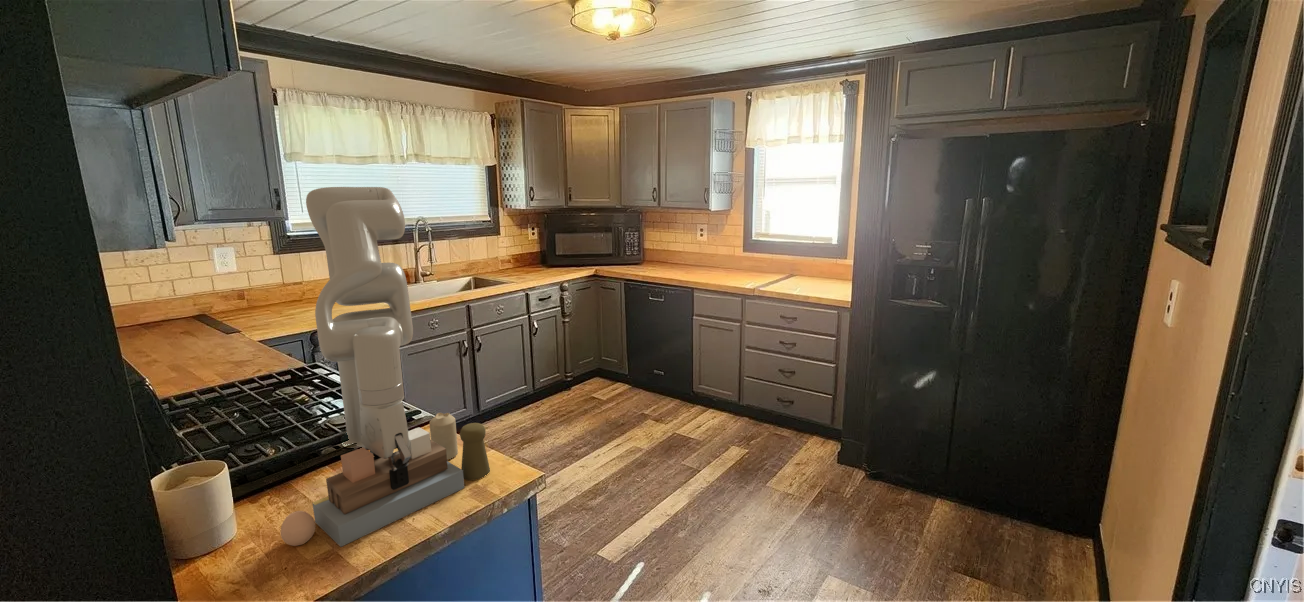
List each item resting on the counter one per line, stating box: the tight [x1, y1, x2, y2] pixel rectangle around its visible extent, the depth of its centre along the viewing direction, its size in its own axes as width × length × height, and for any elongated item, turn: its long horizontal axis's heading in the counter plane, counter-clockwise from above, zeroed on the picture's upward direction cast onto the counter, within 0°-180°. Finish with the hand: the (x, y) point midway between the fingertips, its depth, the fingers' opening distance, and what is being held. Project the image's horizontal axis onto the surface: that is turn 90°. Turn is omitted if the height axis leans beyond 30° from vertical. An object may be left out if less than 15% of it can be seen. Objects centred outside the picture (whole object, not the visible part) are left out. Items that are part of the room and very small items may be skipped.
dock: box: [312, 460, 465, 548], centre depth 107 cm, size 11×24×4 cm, turn 141°
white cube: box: [408, 427, 431, 459], centre depth 109 cm, size 4×4×4 cm
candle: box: [429, 412, 459, 461], centre depth 125 cm, size 6×6×10 cm
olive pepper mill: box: [459, 422, 491, 481], centre depth 118 cm, size 6×6×11 cm
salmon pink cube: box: [340, 447, 375, 483], centre depth 101 cm, size 4×4×4 cm
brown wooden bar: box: [325, 439, 448, 514], centre depth 106 cm, size 6×20×4 cm, turn 141°
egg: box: [280, 510, 316, 547], centre depth 95 cm, size 5×5×6 cm
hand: (390, 479), depth 106 cm, fingers closed on brown wooden bar, 6 cm apart
